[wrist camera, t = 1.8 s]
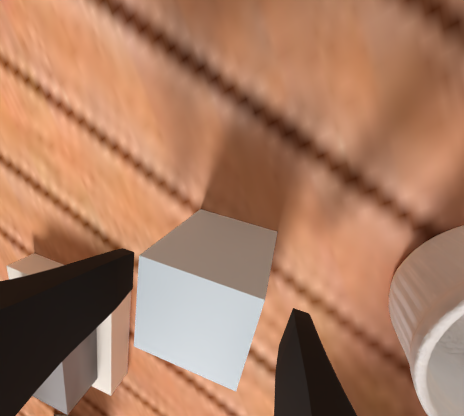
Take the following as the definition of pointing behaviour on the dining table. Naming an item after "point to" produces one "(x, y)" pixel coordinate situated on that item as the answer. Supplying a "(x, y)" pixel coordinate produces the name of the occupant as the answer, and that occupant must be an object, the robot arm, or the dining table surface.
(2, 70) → the dining table surface
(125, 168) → the dining table surface
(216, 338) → the gray block
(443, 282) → the ramekin
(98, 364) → the base slab
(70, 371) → the gray slab
